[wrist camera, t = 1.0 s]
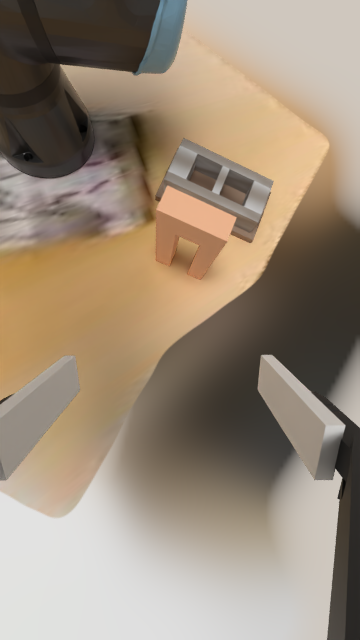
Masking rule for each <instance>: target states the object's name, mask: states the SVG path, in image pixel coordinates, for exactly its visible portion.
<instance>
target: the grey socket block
mask: <svg viewBox="0 0 360 640" xmlns="http://www.w3.org/2000/svg"><path fill="white" fill-rule="evenodd" d="M273 182H274V181H272V180H270V179H268V178H266V177H264V176H262V175H260V174H258V173H256V172H254V171H251V170H249V169H247V168H245V167H243V166H241V165H239V164H237V163H235V162H233V161H231V160H229V159H227V158H224V157H222V156H220V155H218V154H216V153H214V152H212V151H210V150H208V149H206V148H204V147H202V146H199V145H197V144H195V143H193V142H191V141H189V140H187V139H185V138H183V140H182V142H181V144H180V147H179V148H178V149H177V151H176V153H175V156H174V158H173V160H172V162H171V164H170V166H169V168H168V170H167V173H166V175H165V177H164V179H163V181H162V183H161V185H160V187H159V189H158V192H157V194H156V200H157V201H159V202H160V200H161V198H162V196H163V194H164V192H165V190H166V187H167V185H168V186H170V187H172V188H174V189H176V190H179V191H181V192H183V193H185V194H187V195H189V196H192V197H194V198H196V199H198V200H200V201H202V202H205V203H207V204H209V205H211V206H213V207H215V208H218V209H220V210H222V211H224V212H226V213H228V214H231V215H233V216H235V217H237V218H236V220H235V223H234V226H233V228H232V231H231V233H230V234H232V235H234V236H236V237H238V238H241V239H243V240H245V241H247V242H249V243H251V242H252V241H253V239H254V236H255V234H256V231H257V228H258V226H259V223H260V220H261V218H262V215H263V212H264V209H265V207H266V204H267V201H268V199H269V196H270V193H271V192H270V190H271V187H272V185H273Z"/></svg>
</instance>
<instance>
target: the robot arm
mask: <svg viewBox="0 0 360 640" xmlns="http://www.w3.org/2000/svg"><path fill="white" fill-rule="evenodd" d="M186 6H187V0H0V153H1V154H2V155H3V156H4V158H5V159H6V160H7V161H8V162H9V163H10V164H11V165H13V166H14V167H15V168H17V169H18V170H20V171H22V172H24V173H27V174H29V175H33V176H37V177H45V178H51V177H59V176H63V175H67V174H69V173H71V172H73V171H75V170H77V169H78V168H80V167H81V166H82V165H83V164H84V163H85V162H86V161H87V159H88V158H89V156H90V155H91V153H92V150H93V146H94V132H93V128H92V124H91V121H90V118H89V115H88V112H87V110H86V108H85V106H84V104H83V103H82V101H81V99H80V98H79V96H78V94H77V93H76V91H75V90H74V88H73V86H72V85H71V83H70V81H69V80H68V78H67V76H66V75H65V73H64V72H63V70H62V68H61V66H60V64H63V65H72V66H82V67H91V68H100V69H109V70H119V71H128V72H132V74H133V75H139V74H141V73H153V74H161V73H164V72H166V71H167V70H168V69H169V68H170V66H171V65H172V63H173V62H174V59H175V57H176V54H177V51H178V47H179V43H180V39H181V34H182V29H183V24H184V17H185V12H186ZM79 391H80V386H79V379H78V372H77V365H76V358H75V356H63V357H62V358H61V359H59V360H58V361H57V362H55V363H54V364H53V365H51V366H50V367H49V368H48V369H46V370H45V371H44V372H42V373H41V374H40V375H38V376H37V377H36V378H34V379H33V380H32V381H31V382H29V383H28V384H27V385H25V386H24V387H23V388H21V389H20V390H19V391H17V392H16V393H14V394H12V395H10V396H8V397H6V398H4V399H2V400H1V401H0V480H7V479H8V478H9V477H10V475H11V474H12V473H13V472H14V470H15V469H16V468H17V467H18V466H19V464H20V463H21V462H22V461H23V459H24V458H25V457H26V456H27V455H28V453H29V452H30V451H31V450H32V448H33V447H34V446H35V445H36V444H37V442H38V441H39V440H40V439H41V437H42V436H43V435H44V434H45V432H46V431H47V430H48V429H49V428H50V426H51V425H52V424H53V423H54V421H55V420H56V419H57V418H58V417H59V415H60V414H61V413H62V412H63V410H64V409H65V408H66V407H67V406H68V404H69V403H70V402H71V401H72V399H73V398H74V397H75V396H76V394H77V393H78V392H79ZM258 391H259V393H260V394H261V396H262V397H263V399H264V401H265V402H266V404H267V405H268V407H269V408H270V410H271V412H272V413H273V415H274V416H275V418H276V420H277V421H278V423H279V424H280V426H281V428H282V429H283V430H284V432H285V434H286V435H287V437H288V439H289V440H290V442H291V443H292V445H293V447H294V448H295V450H296V451H297V453H298V454H299V456H300V458H301V459H302V461H303V462H304V464H305V466H306V467H307V469H308V470H309V472H310V473H311V475H312V477H313V478H314V480H333V476H334V472H335V468H336V470H337V471H338V472H339V474H340V475H341V476H342V482H341V486H340V490H339V494H338V499H340V501H339V512H338V523H337V535H336V546H335V558H334V568H333V580H332V591H331V602H330V614H329V626H328V638H327V640H360V428H359V427H358V426H357V425H356V424H355V423H354V422H352V421H351V420H350V419H349V418H348V417H347V416H346V415H345V414H343V413H342V412H341V411H340V410H339V409H338V408H337V407H336V406H334V405H333V404H332V403H331V402H330V401H329V400H328V399H327V398H326V397H324V396H322V395H320V394H319V393H317V392H310V391H309V390H308V389H307V388H306V387H305V386H304V385H303V384H302V383H301V382H300V381H299V380H297V379H296V378H295V377H294V376H293V375H292V374H291V373H290V372H289V371H288V370H287V369H286V368H285V367H284V366H283V365H282V364H281V363H280V362H279V361H278V360H277V359H276V358H275V357H274V356H273V355H261V361H260V371H259V381H258Z"/></svg>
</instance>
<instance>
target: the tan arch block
mask: <svg viewBox="0 0 360 640" xmlns="http://www.w3.org/2000/svg"><path fill="white" fill-rule="evenodd" d="M236 218H237V217H235V216H233V215H231V214H228V213H226V212H224V211H222V210H220V209H218V208H215V207H213V206H211V205H209V204H207V203H205V202H202V201H200V200H198V199H196V198H194V197H192V196H189V195H187V194H185V193H183V192H181V191H179V190H176V189H174V188H172V187H170V186H168V185H167V187H166V190H165V192H164V194H163V196H162V198H161V200H160V202H159V205H158V207H157V209H156V261H158V262H161V263H163V264H165V265H168V266H170V264H171V261H172V259H173V257H174V254H175V252H176V249H177V245H178V240H179V236H180V237H182V238H184V239H186V240H189V241H191V242H193V243H195V244H198V245H199V248H198V250H197V252H196V254H195V256H194V259H193V261H192V264H191V266H190V268H189V271H188V273H187V274H188V275H191V276H193V277H195V278H198V279H200V280H201V278H202V277H203V275H204V274H205V272H206V271H207V270H208V268H209V267H210V265H211V264H212V262H213V261H214V260H215V258H216V257H217V255H218V254H219V253H220V251H221V250H222V248H223V247H224V245H225V244H226V243H227V241H228V238H229V236H230V233H231V231H232V228H233V226H234V223H235V220H236Z"/></svg>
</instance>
